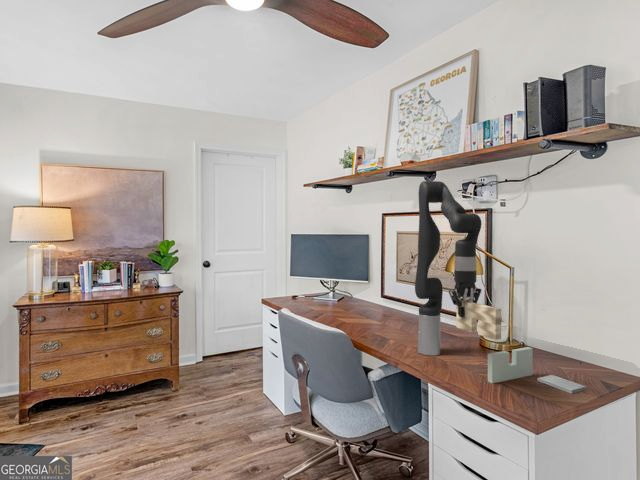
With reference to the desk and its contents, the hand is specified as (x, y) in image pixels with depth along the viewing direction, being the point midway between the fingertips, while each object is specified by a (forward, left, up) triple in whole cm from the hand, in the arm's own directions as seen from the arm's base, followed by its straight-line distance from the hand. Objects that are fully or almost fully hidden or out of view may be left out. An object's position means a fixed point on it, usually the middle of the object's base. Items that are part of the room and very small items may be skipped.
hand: (465, 316), depth 142 cm
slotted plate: (+15, +7, -23) cm, 29 cm away
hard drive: (+32, +7, -24) cm, 40 cm away
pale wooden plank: (+4, -4, -5) cm, 8 cm away
